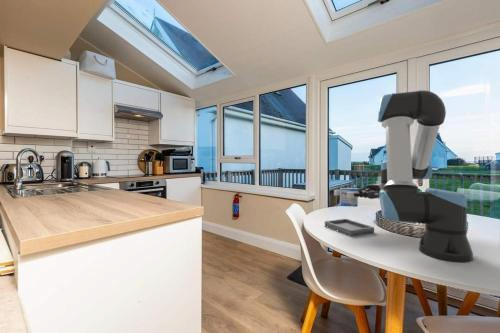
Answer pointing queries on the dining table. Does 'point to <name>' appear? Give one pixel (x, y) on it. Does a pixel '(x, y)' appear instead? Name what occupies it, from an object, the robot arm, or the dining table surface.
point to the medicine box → (348, 201)
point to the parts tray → (349, 227)
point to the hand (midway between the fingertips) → (340, 193)
